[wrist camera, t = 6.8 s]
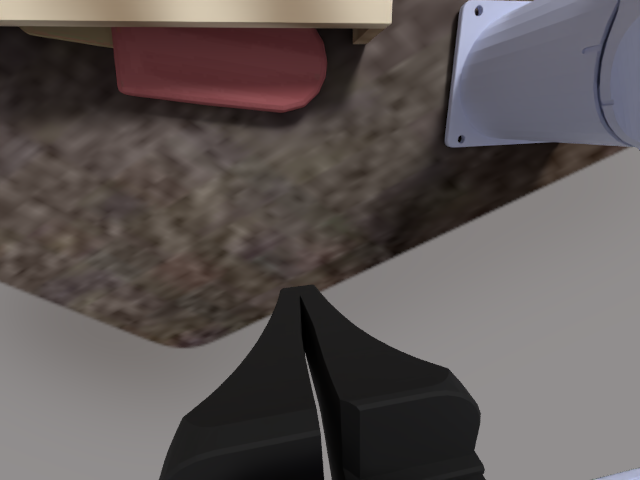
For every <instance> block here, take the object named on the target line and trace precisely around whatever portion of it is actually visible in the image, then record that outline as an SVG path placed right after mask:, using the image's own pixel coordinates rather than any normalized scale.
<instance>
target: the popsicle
mask: <svg viewBox="0 0 640 480" xmlns="http://www.w3.org/2000/svg"><path fill="white" fill-rule="evenodd" d="M19 28H20V29H22V30H23V31H24V32H26V33H27V34H29V35H33V36H39V37H46V38H52V39H58V40H64V41H71V42H77V43H83V44H89V45H95V46H102V47H108V48H113V50H114V59H115V68H116V78H117V87H118V89H119V91H120V92H121V93H123V94H126V95H130V96H137V97H145V98H153V99H161V100H169V101H177V102H185V103H192V104H200V105H209V106H219V107H229V108H239V109H249V110H259V111H269V112H278V113H284V112H288V111H292V110H295V109H299V108H302V107H305V106H306V105H307V104H308V103H309V102H310V101H311V100H312V99H313V98H314V97H315V96H316V95H317V94H318V93H319V91H320V89H321V87H322V84H323V82H324V80H325V78H326V70H327V57H326V52H325V46H324V42H323V40H322V39H321V37H320V35H319V34H318V32H317V30H316V28H215V27H64V26H19Z"/></svg>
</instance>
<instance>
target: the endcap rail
mask: <svg viewBox="0 0 640 480" xmlns="http://www.w3.org/2000/svg"><path fill="white" fill-rule="evenodd" d="M391 20H392V0H0V26H64V27H215V28H353V44H367V43H368V42H369V41H371V40H372V39H373V38H374V37H375V36H377V35H378V34H379V33H380V32H381V31H383V30H384V29H385V28H386V27H388V26H389V25H390V24H391Z"/></svg>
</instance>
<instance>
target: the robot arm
mask: <svg viewBox="0 0 640 480" xmlns="http://www.w3.org/2000/svg"><path fill="white" fill-rule="evenodd" d="M475 8H477V9H478V12H479V14H478V16H476V15H475ZM459 136H461V138H462V139H461V141H460V142H458V137H459ZM545 142H561V143H578V144H594V145H611V146H628V147H636V148H638V149H639V150H640V0H534V1H487V0H470V1H468V2H466V3H465V4H463V5H462V7H461V8H460V12H459V19H458V28H457V37H456V45H455V54H454V63H453V71H452V80H451V89H450V97H449V106H448V115H447V123H446V132H445V144H446V146H448V147H471V146H490V145H508V144H527V143H545ZM305 353H306V357H307V361H308V365H309V369H310V372H311V376H312V380H313V383H314V387H315V391H316V395H317V399H318V402H319V407H320V411H321V417H322V423H323V429H324V433H325V440H326V446H327V453H328V458H329V464H330V470H331V477H332V480H486V479H485V478H484V476H483V475H482V474H484V470H485V469H484V466H483V464H482V462H481V461H480V460H479V458H478V456H477V454H476V453H475V451H474V449H475V444H476V440H477V435H478V430H479V426H480V415H481V413H480V410H479V407H478V405H477V403H476V402H475V400H474V399H473V398H472V396H471V395H470V394H469V393H468V391H467V390H466V389H465V387H464V386H463V385H462V383H461V382H460V381H459V380H458V379H457V378H456V377H455V376H454V375H453V373H452V372H451V371H450V370H449V369H448V368H445V367H442V366H439V365H436V364H433V363H430V362H427V361H424V360H421V359H418V358H416V357H413V356H411V355H408V354H406V353H404V352H401V351H399V350H397V349H395V348H392V347H390V346H388V345H386V344H385V343H383V342H381V341H379V340H377V339H375V338H374V337H372V336H370V335H369V334H367V333H366V332H364V331H363V330H361V329H360V328H358V327H357V326H355V325H354V324H353V323H351V322H350V321H349V320H348V319H347V318H345V317H344V316H343V315H342V314H341V313H340V312H339V311H338V310H337V309H335V308H334V307H333V306H332V305H331V304H330V303H329V302H328V301H327V300H326V299H325V297H324V296H323V295H322V294H321V293H320V292H319V290H318V289H317V288H316V287H315V286H314V285H306V286H298V287H291V288H283V289H282V290H281V291H280V294H279V298H278V301H277V304H276V307H275V309H274V311H273V314H272V316H271V318H270V320H269V322H268V324H267V326H266V328H265V329H264V331H263V333H262V335H261V336H260V338H259V340H258V341H257V343H256V344H255V346H254V347H253V348H252V350H251V351H250V353H249V354H248V355H247V356H246V358H245V359H244V360H243V361H242V363H241V364H240V365H239V366H238V367H237V369H236V370H235V371H234V372H233V373H232V374H231V375H230V376H229V377H228V378H227V379H226V380H225V381H224V382H223V384H221V386H219V388H218V389H216V390H215V391H214V392H213V393H212V394H211V395H210V396H209V397H208V398H206V399H205V400H204V401H202V402H201V403H200V404H199V405H198V406H197V407H195V408H194V409H193V410H192V411H190V412H189V413H188V414H187V415H185V416H184V417H183V418H182V421H181V422H180V425H179V427H178V429H177V431H176V433H175V436H174V438H173V440H172V443H171V445H170V447H169V450H168V452H167V456H166V458H165V461H164V464H163V468H162V472H161V475H160V478H159V480H324V473H323V460H322V446H321V434H320V428H319V421H318V415H317V409H316V405H315V401H314V396H313V392H312V388H311V383H310V379H309V374H308V369H307V364H306V359H305ZM592 480H640V468H636V469H632V470H628V471H624V472H620V473H616V474H613V475H608V476H604V477H600V478H596V479H592Z"/></svg>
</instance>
